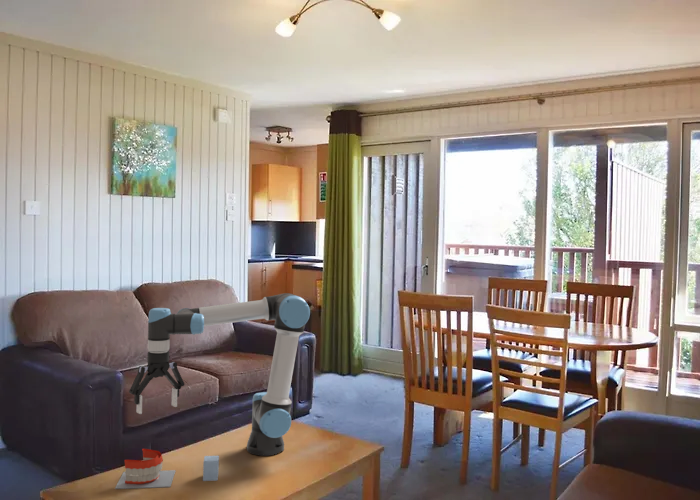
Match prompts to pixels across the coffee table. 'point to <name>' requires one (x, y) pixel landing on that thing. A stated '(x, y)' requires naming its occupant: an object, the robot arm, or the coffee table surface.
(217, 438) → the coffee table surface
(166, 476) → the letter card
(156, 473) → the toy
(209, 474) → the block
